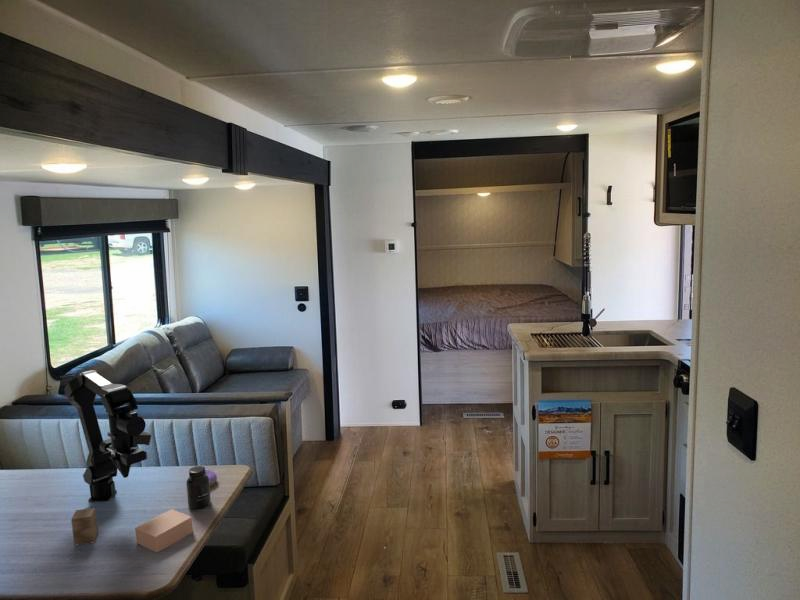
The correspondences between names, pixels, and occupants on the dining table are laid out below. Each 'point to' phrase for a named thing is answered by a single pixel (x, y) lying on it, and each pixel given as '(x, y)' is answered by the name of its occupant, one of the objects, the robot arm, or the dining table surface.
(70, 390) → the robot arm
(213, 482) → the donut
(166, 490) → the dining table surface
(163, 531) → the terracotta block
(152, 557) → the dining table surface
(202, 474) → the supplement bottle
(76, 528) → the walnut block
